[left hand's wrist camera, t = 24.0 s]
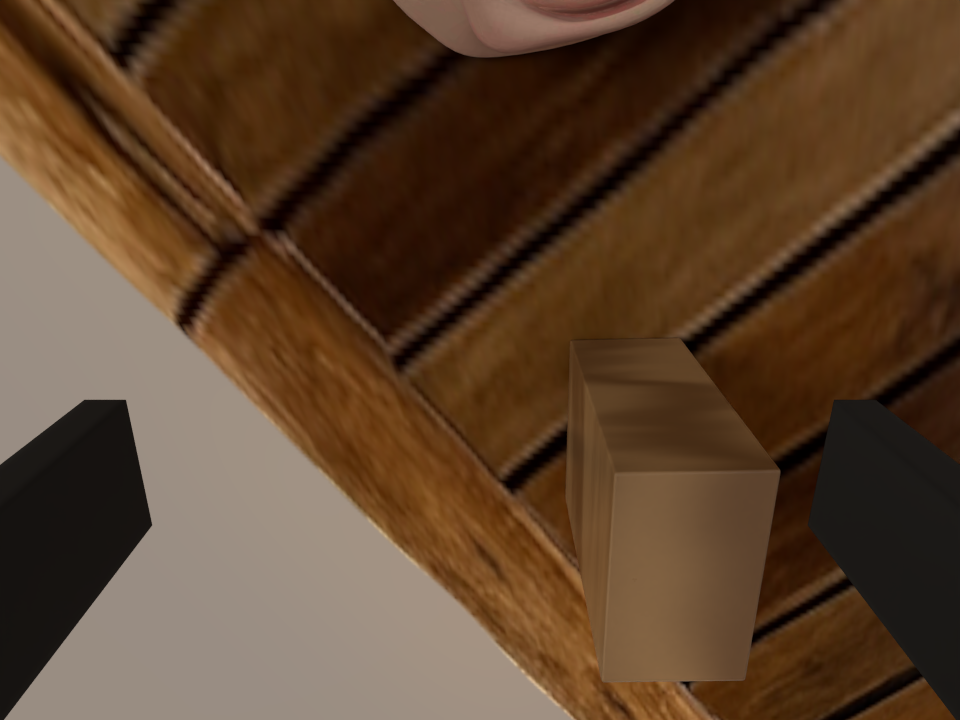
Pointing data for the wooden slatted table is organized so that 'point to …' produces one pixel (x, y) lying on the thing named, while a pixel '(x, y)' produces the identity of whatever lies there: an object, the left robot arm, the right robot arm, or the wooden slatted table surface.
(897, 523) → the left robot arm
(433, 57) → the wooden slatted table surface
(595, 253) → the wooden slatted table surface
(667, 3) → the anatomical model
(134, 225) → the wooden slatted table surface
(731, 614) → the brick
